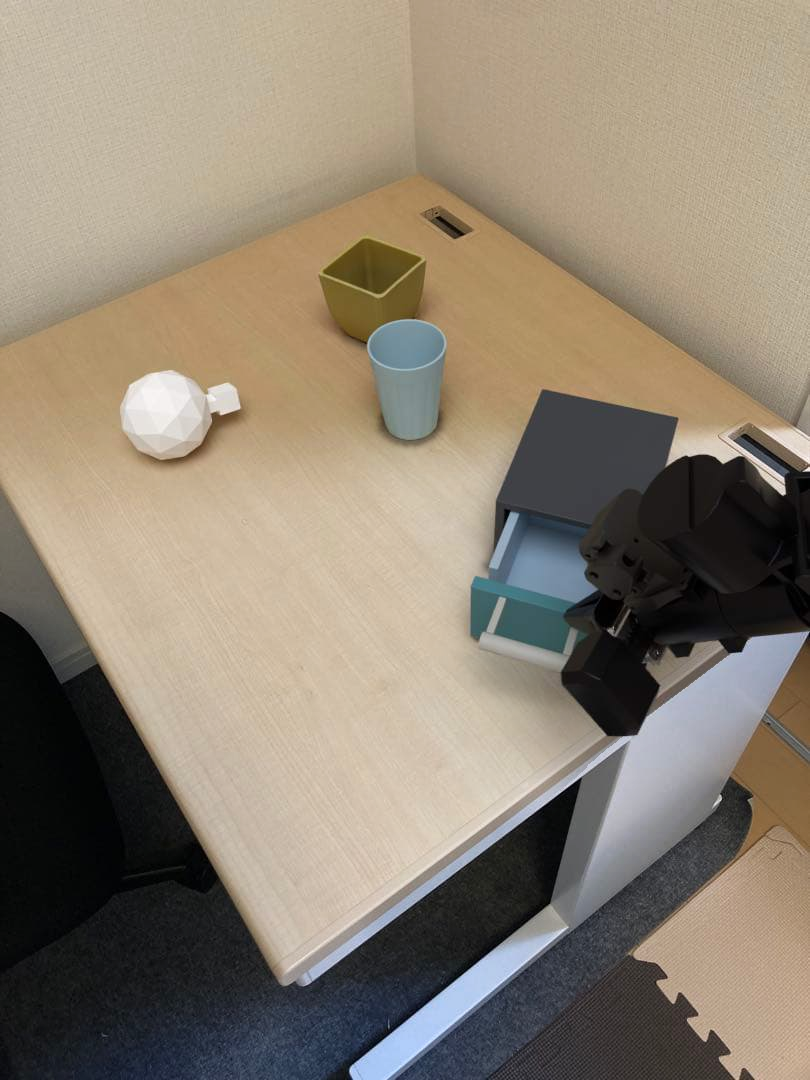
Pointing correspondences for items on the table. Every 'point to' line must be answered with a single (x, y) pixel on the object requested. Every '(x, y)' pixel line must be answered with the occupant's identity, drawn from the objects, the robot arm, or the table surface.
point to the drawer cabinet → (581, 459)
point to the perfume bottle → (172, 413)
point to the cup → (408, 375)
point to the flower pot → (372, 285)
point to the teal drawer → (531, 592)
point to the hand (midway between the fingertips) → (567, 617)
